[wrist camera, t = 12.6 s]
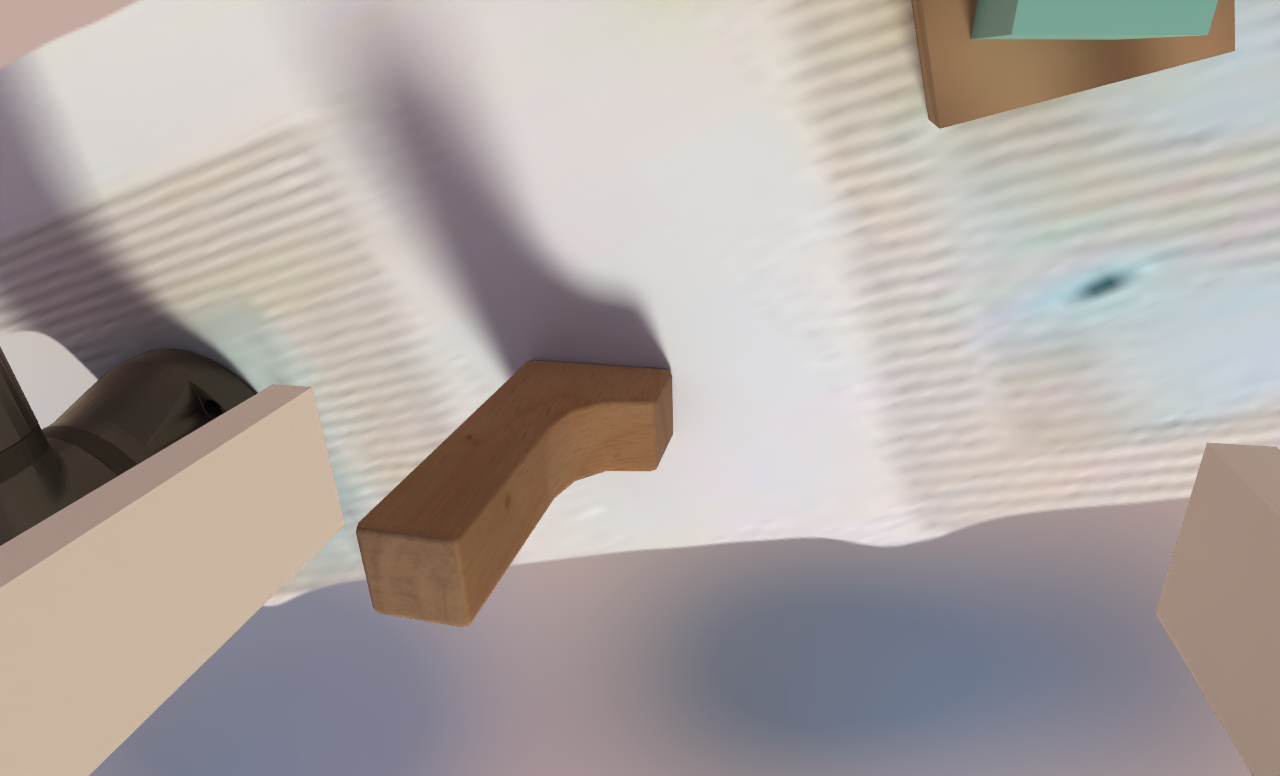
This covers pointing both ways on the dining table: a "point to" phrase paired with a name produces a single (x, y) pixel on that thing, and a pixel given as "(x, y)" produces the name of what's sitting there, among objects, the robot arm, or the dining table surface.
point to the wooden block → (506, 482)
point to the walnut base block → (1037, 61)
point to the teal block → (1091, 19)
